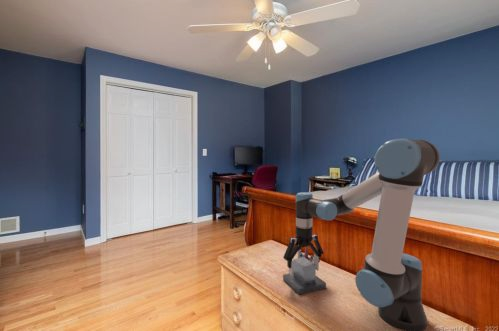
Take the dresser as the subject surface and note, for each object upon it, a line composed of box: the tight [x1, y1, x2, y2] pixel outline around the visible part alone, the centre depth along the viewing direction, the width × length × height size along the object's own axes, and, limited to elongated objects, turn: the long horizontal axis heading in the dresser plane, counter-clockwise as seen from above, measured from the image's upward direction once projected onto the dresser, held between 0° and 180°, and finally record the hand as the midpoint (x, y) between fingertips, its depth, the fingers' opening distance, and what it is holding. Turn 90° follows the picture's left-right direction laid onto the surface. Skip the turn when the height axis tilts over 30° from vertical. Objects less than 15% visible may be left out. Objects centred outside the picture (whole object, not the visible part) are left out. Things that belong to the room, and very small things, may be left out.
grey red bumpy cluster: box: [297, 247, 314, 263], centre depth 132 cm, size 11×10×11 cm
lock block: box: [292, 257, 317, 285], centre depth 112 cm, size 9×6×8 cm, turn 22°
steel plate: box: [282, 273, 327, 296], centre depth 113 cm, size 14×14×2 cm
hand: (303, 271), depth 113 cm, fingers open, 13 cm apart
